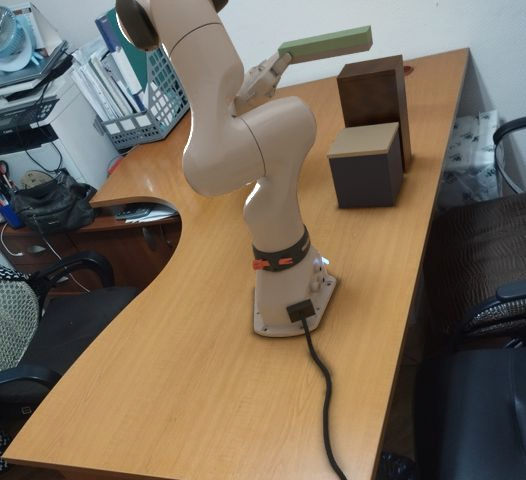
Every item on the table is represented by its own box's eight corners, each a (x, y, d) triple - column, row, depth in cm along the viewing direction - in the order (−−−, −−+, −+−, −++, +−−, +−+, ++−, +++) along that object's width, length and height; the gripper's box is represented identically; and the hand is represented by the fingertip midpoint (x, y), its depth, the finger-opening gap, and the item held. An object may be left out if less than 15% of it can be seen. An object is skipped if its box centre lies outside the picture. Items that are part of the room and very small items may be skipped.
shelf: (354, 176, 140) (336, 78, 122) (361, 160, 144) (345, 64, 126) (405, 172, 133) (395, 68, 115) (411, 156, 138) (402, 54, 120)
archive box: (338, 208, 131) (326, 154, 121) (350, 181, 138) (340, 128, 128) (394, 206, 125) (386, 149, 114) (404, 178, 132) (398, 122, 121)
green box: (281, 66, 126) (277, 49, 123) (287, 59, 128) (282, 42, 126) (369, 50, 116) (366, 31, 114) (373, 43, 119) (370, 24, 116)
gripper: (234, 94, 127) (270, 57, 117) (264, 60, 139) (298, 23, 129) (252, 114, 130) (288, 79, 120) (279, 78, 141) (314, 44, 131)
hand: (294, 50), depth 124 cm, fingers closed on green box, 4 cm apart
